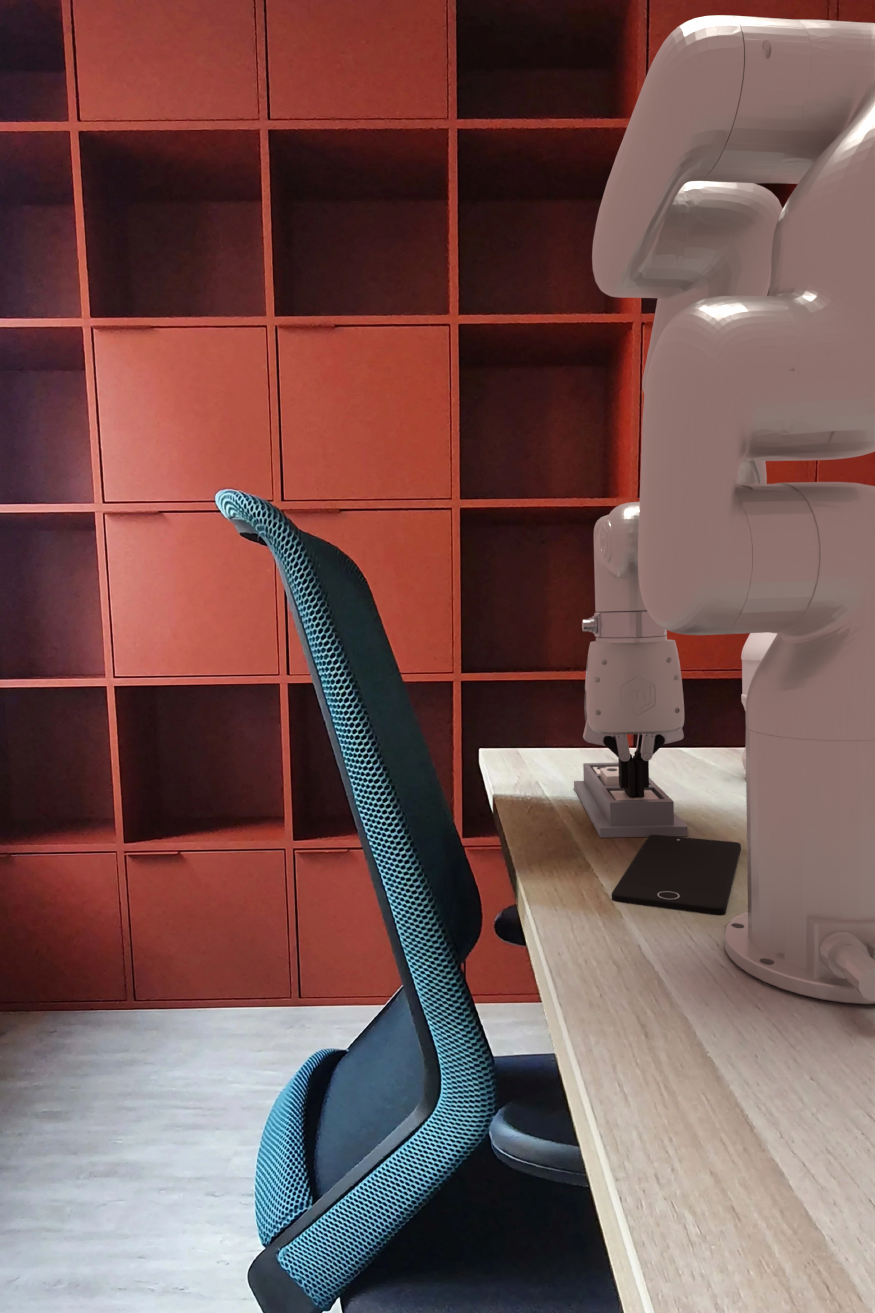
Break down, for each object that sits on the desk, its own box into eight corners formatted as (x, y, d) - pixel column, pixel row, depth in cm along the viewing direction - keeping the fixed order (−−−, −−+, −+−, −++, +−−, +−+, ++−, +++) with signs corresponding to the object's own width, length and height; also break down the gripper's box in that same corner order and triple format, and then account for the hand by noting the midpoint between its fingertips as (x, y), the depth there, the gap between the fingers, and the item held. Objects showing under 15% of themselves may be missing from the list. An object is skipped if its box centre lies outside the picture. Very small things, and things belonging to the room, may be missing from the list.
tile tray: (687, 836, 79) (687, 802, 79) (600, 837, 80) (599, 804, 79) (642, 786, 101) (641, 760, 101) (574, 788, 102) (573, 762, 101)
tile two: (647, 792, 88) (646, 774, 88) (607, 793, 88) (606, 775, 88) (638, 783, 92) (638, 766, 92) (600, 784, 93) (600, 767, 92)
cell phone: (610, 905, 63) (610, 894, 63) (649, 842, 79) (649, 833, 79) (724, 920, 59) (724, 909, 59) (741, 851, 75) (741, 842, 75)
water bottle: (789, 774, 105) (787, 593, 104) (809, 786, 98) (808, 592, 97) (735, 775, 106) (733, 595, 104) (751, 787, 99) (749, 594, 97)
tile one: (660, 818, 81) (660, 799, 81) (617, 819, 82) (617, 800, 82) (651, 807, 86) (650, 789, 86) (610, 808, 86) (609, 790, 86)
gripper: (565, 631, 79) (569, 804, 80) (711, 626, 78) (713, 802, 80) (558, 629, 87) (562, 788, 88) (691, 625, 86) (693, 785, 87)
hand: (633, 794), depth 84 cm, fingers closed
